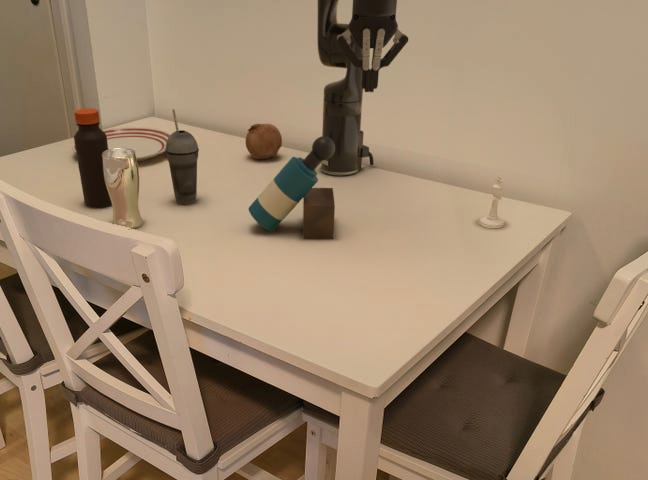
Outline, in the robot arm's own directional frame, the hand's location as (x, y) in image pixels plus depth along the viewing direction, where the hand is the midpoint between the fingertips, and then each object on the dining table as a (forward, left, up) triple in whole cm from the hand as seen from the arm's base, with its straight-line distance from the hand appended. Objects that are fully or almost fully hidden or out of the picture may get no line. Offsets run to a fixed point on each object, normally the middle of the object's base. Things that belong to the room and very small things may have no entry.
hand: (368, 91), depth 125 cm
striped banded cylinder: (+12, -8, -27) cm, 31 cm away
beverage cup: (+24, -33, -27) cm, 49 cm away
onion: (-7, -52, -27) cm, 59 cm away
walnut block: (+7, -5, -27) cm, 28 cm away
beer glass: (+40, -27, -27) cm, 55 cm away
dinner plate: (+23, -75, -27) cm, 83 cm away
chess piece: (-25, +12, -27) cm, 39 cm away
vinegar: (+41, -42, -27) cm, 65 cm away
